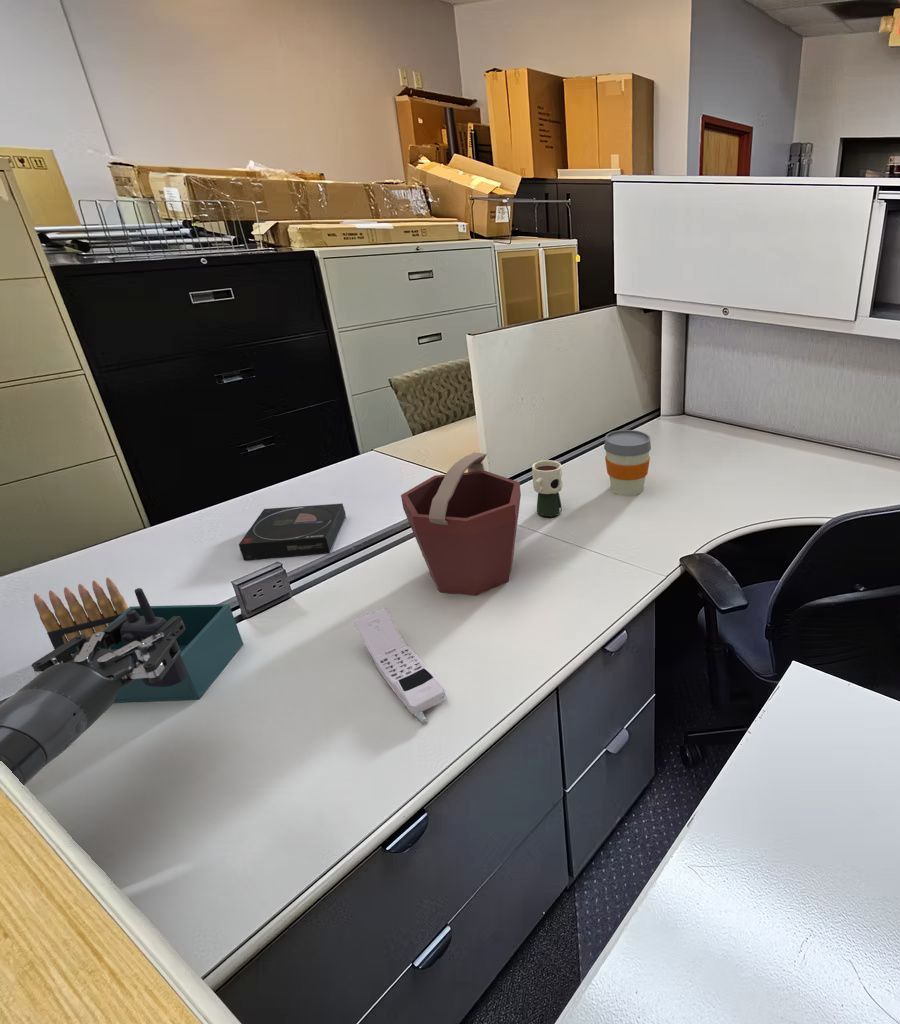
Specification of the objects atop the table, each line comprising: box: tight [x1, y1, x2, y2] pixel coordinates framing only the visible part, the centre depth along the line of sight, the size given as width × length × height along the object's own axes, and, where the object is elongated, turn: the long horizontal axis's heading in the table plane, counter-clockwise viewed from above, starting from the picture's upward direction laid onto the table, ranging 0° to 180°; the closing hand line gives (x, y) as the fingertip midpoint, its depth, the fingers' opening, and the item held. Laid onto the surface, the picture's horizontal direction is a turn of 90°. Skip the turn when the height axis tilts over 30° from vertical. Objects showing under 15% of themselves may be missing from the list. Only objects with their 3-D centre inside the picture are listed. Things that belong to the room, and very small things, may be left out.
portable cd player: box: [238, 503, 347, 562], centre depth 139 cm, size 16×17×4 cm
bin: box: [102, 603, 244, 704], centre depth 99 cm, size 15×13×9 cm
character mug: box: [531, 459, 564, 517], centre depth 152 cm, size 11×7×13 cm, turn 163°
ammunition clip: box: [33, 577, 129, 655], centre depth 103 cm, size 11×2×12 cm, turn 126°
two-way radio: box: [120, 587, 187, 687], centre depth 80 cm, size 6×4×15 cm
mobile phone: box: [352, 607, 447, 724], centre depth 101 cm, size 6×6×25 cm
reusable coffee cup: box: [603, 429, 652, 497], centre depth 167 cm, size 13×13×15 cm
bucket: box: [400, 451, 522, 596], centre depth 124 cm, size 24×22×25 cm
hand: (155, 621), depth 82 cm, fingers closed on two-way radio, 5 cm apart
